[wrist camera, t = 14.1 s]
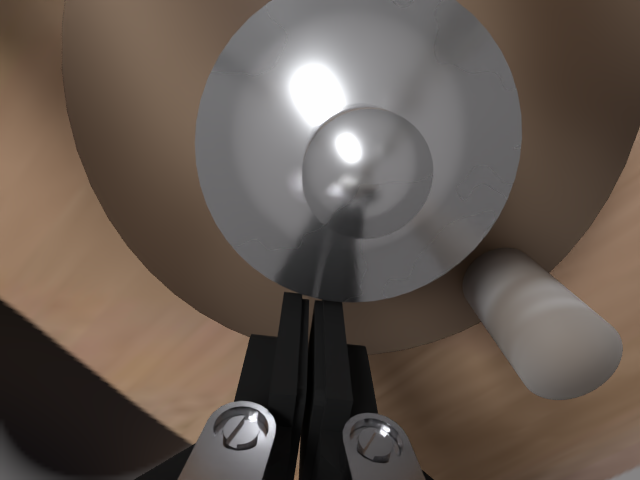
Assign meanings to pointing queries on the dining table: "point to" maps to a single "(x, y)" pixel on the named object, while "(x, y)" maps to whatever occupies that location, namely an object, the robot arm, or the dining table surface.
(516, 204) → the turntable
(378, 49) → the lid
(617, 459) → the dining table surface
